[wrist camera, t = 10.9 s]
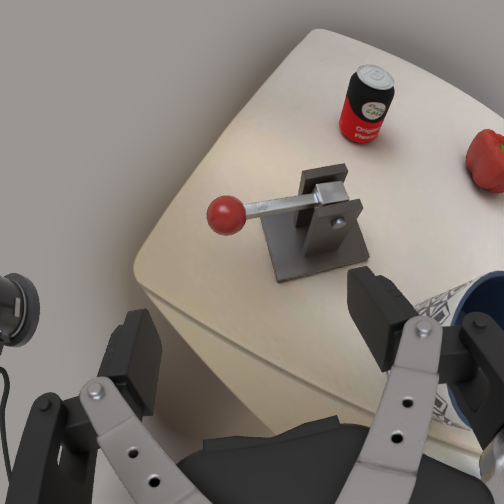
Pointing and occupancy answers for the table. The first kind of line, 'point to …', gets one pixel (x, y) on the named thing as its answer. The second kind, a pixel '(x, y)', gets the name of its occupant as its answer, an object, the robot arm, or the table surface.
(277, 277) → the grey lever stand
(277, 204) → the tap lever
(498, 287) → the planter
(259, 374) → the table surface
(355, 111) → the beverage can
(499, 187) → the vegetable
